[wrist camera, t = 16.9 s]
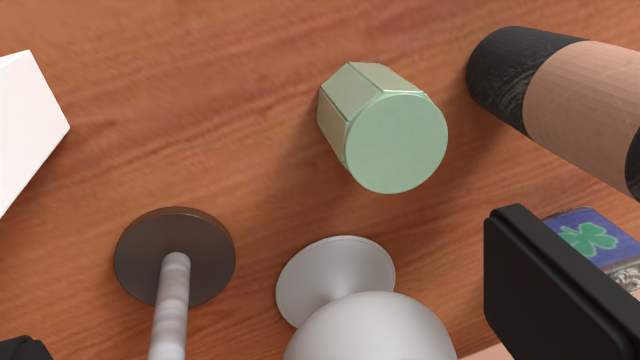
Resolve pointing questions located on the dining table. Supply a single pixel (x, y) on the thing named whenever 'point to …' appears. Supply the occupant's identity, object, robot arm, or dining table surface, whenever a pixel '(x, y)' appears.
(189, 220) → the towel holder
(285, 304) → the chalice
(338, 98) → the green cup
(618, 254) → the flask
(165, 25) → the dining table surface
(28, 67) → the milk
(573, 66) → the travel mug
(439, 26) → the dining table surface
